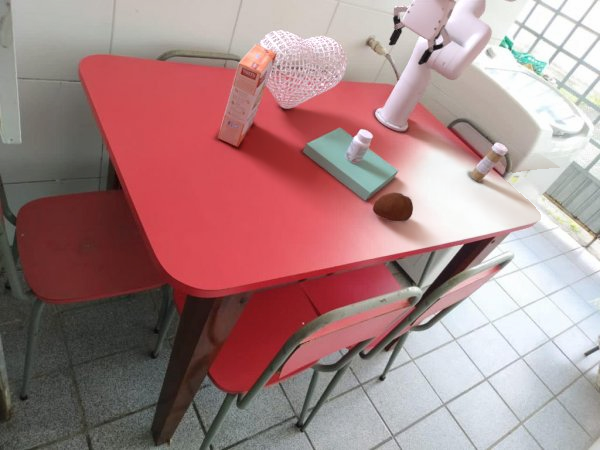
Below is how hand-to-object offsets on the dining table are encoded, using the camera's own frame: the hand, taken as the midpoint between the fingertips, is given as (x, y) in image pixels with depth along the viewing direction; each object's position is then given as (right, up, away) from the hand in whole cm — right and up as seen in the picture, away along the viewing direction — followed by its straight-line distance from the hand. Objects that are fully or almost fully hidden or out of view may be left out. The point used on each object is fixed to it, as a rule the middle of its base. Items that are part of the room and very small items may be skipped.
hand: (406, 54), depth 110 cm
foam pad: (-14, -29, +6) cm, 33 cm away
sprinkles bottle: (+31, -30, +29) cm, 52 cm away
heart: (-33, -10, +16) cm, 38 cm away
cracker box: (-45, -21, -2) cm, 50 cm away
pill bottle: (-14, -28, +3) cm, 31 cm away
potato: (-6, -44, -4) cm, 45 cm away
